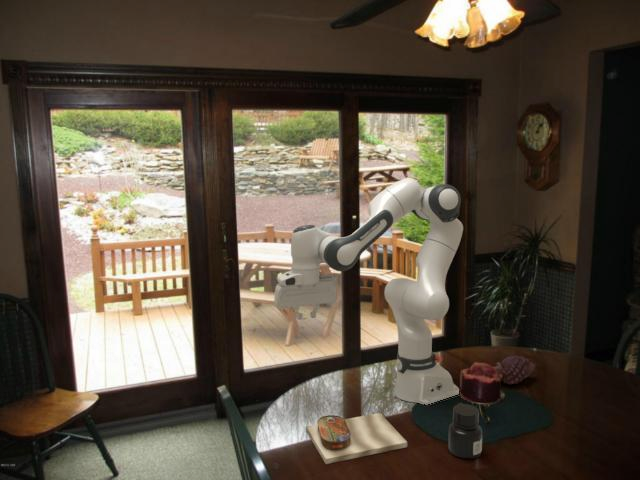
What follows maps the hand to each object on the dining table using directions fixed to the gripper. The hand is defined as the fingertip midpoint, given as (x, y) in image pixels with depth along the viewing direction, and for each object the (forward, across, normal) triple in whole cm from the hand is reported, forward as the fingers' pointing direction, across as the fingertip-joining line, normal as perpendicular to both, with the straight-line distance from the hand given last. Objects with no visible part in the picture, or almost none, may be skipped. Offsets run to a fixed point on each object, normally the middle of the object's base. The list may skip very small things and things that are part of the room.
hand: (306, 318), depth 169 cm
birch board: (+29, -6, +26) cm, 39 cm away
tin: (+27, -4, +26) cm, 37 cm away
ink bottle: (+29, -32, +42) cm, 60 cm away
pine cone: (+29, -73, +11) cm, 79 cm away
